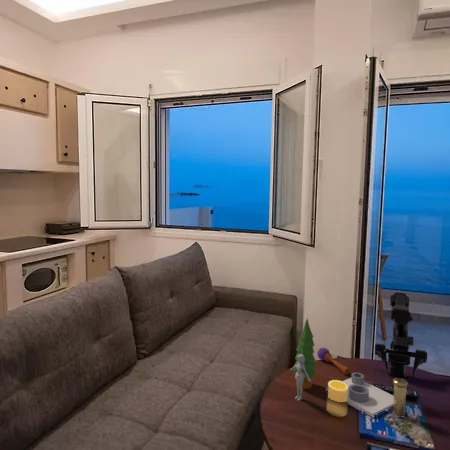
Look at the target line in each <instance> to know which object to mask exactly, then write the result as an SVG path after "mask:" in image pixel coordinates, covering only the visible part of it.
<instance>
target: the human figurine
mask: <svg viewBox="0 0 450 450" xmlns="http://www.w3.org/2000/svg"><path fill="white" fill-rule="evenodd" d="M297 357H298V362H297V364H296V365H295V364H294V365H293V367H291V368H290V370H293V368H295V367H296V368H297V373H296V375H295V374H294V377H295V378H294V380H295V382H296V391H297V393H296V396H295V397H294V399H295V400H296V401H301V400H302V399H303V397H302V394H303V390H304V388H302V385H303V381H304V377H305V375H304V373H303V372H301V370H302V369H303V370H304V371H305V366H304V362H305V357H304V355H303V354H299V355H298V356H297ZM305 374H306V376H307V377H308V380H309V382H310V383H311V384H312V379H311V378H309V376H308V374H307V372H306V371H305ZM299 384H300V385H299Z"/></svg>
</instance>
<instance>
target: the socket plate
mask: <svg viewBox="0 0 450 450" xmlns="http://www.w3.org/2000/svg"><path fill="white" fill-rule="evenodd" d="M341 382H344V383H346V384H347V385H348V387H349V388H348V404H347V405H349V406H351V407H353V408H355V409H356V410H358V411H360V410H362V411H364V412H366V413H368V414H369V415H371V416H374V415H376V414H378V413H380V412H382V411H384V410H386V409H389V408H390V407H392V406H393V400H394V394H391V393H389V392H387V391H384V390H382V389H381V388H379V387H376V386H374V385H372V384H371V383H368V382H366V381H365V376H364V374H363V373H360V372H352V373H351V377H350V378H347V379H345V380H342V381H341ZM326 391H327V387H326V388H325V392H326ZM389 410H390V409H389Z"/></svg>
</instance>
